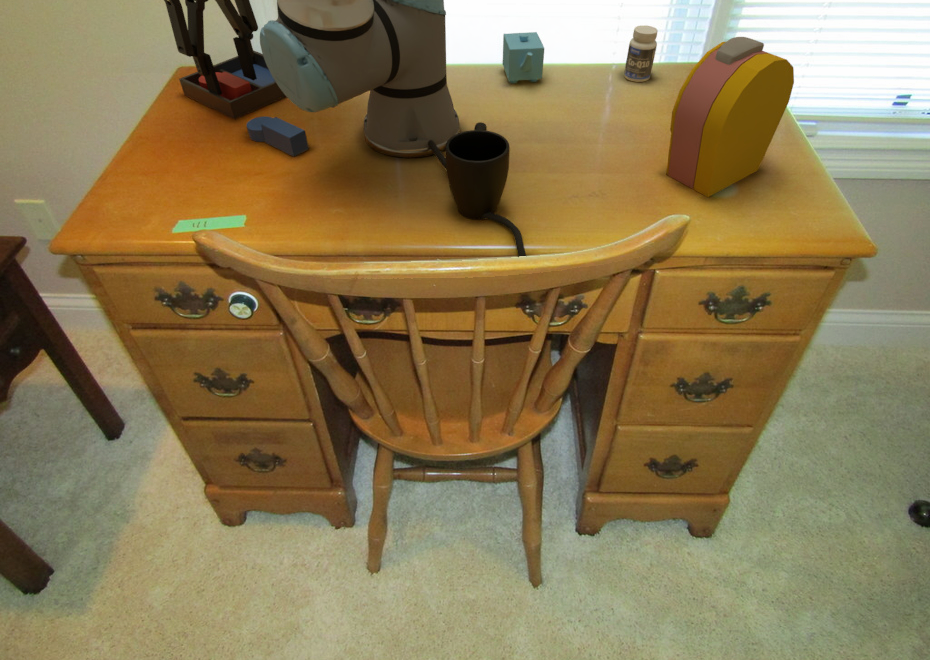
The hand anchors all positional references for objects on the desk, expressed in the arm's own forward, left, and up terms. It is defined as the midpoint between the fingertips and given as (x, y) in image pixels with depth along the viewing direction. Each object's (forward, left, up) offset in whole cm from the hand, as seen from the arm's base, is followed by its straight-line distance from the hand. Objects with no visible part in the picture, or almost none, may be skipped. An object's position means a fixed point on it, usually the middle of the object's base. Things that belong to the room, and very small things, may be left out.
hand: (233, 84), depth 108 cm
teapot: (-34, -38, -3) cm, 51 cm away
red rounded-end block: (+2, 0, -2) cm, 3 cm away
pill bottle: (-50, -51, -3) cm, 72 cm away
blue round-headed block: (-17, +5, -3) cm, 17 cm away
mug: (-52, -2, -3) cm, 52 cm away
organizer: (+2, -3, -3) cm, 5 cm away
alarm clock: (-74, -29, -3) cm, 80 cm away
